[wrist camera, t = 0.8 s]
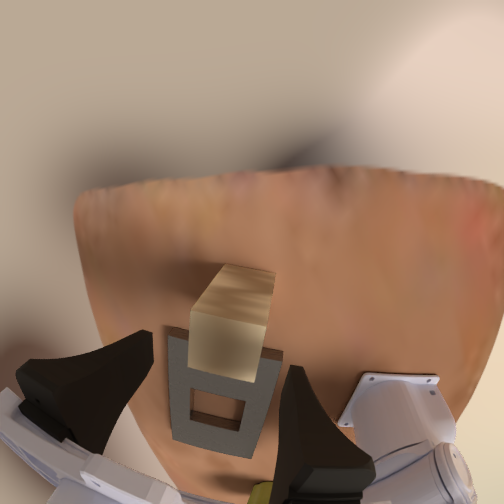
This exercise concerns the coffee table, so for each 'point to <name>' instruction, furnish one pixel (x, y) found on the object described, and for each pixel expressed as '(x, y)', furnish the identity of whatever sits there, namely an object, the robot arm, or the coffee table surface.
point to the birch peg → (231, 323)
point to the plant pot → (261, 493)
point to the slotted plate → (210, 427)
